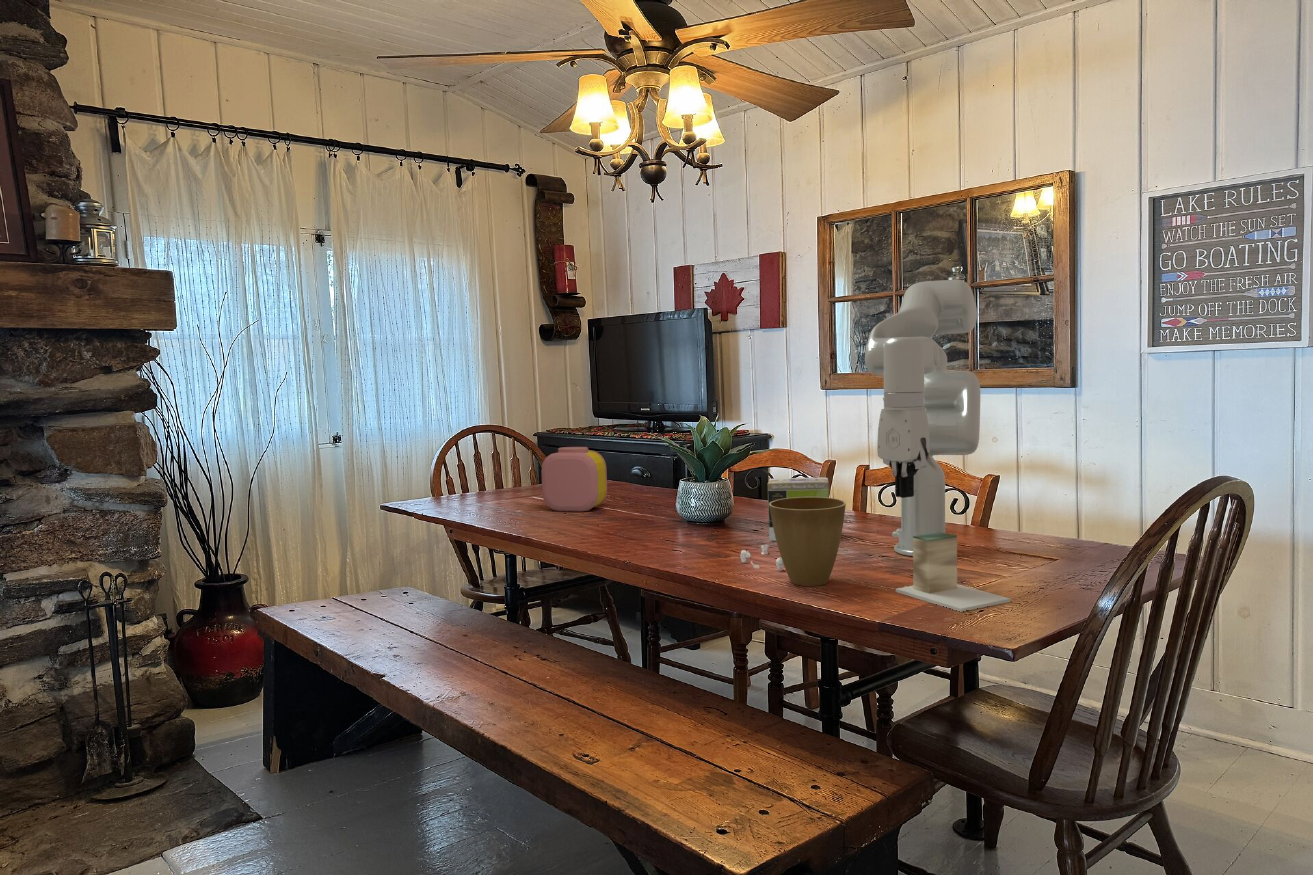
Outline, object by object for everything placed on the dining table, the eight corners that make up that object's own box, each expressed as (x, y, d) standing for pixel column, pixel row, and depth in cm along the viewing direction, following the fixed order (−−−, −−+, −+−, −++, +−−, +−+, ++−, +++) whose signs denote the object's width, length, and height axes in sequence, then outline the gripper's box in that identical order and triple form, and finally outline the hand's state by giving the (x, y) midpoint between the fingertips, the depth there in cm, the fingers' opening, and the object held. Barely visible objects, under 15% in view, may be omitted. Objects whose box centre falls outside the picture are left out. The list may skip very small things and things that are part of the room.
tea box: (829, 534, 220) (829, 476, 219) (830, 542, 210) (830, 481, 209) (770, 533, 222) (769, 476, 221) (768, 541, 213) (767, 482, 211)
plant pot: (781, 571, 182) (779, 495, 180) (852, 575, 176) (851, 497, 175) (761, 588, 168) (760, 506, 167) (838, 594, 162) (837, 509, 161)
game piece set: (811, 576, 178) (810, 558, 177) (723, 567, 188) (723, 550, 188) (843, 557, 194) (842, 540, 194) (761, 550, 205) (761, 534, 204)
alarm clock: (609, 507, 273) (607, 446, 271) (597, 512, 262) (595, 449, 261) (554, 506, 278) (552, 446, 277) (540, 511, 268) (538, 449, 266)
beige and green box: (913, 588, 162) (913, 536, 161) (941, 583, 165) (941, 532, 164) (928, 593, 158) (928, 539, 158) (957, 588, 162) (957, 535, 161)
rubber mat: (895, 591, 163) (895, 588, 163) (943, 583, 168) (943, 580, 168) (960, 612, 148) (960, 608, 148) (1010, 601, 154) (1010, 598, 154)
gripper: (862, 401, 171) (863, 494, 172) (917, 403, 158) (917, 503, 159) (891, 400, 174) (892, 490, 176) (947, 401, 161) (948, 499, 162)
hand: (904, 496), depth 167 cm, fingers closed
